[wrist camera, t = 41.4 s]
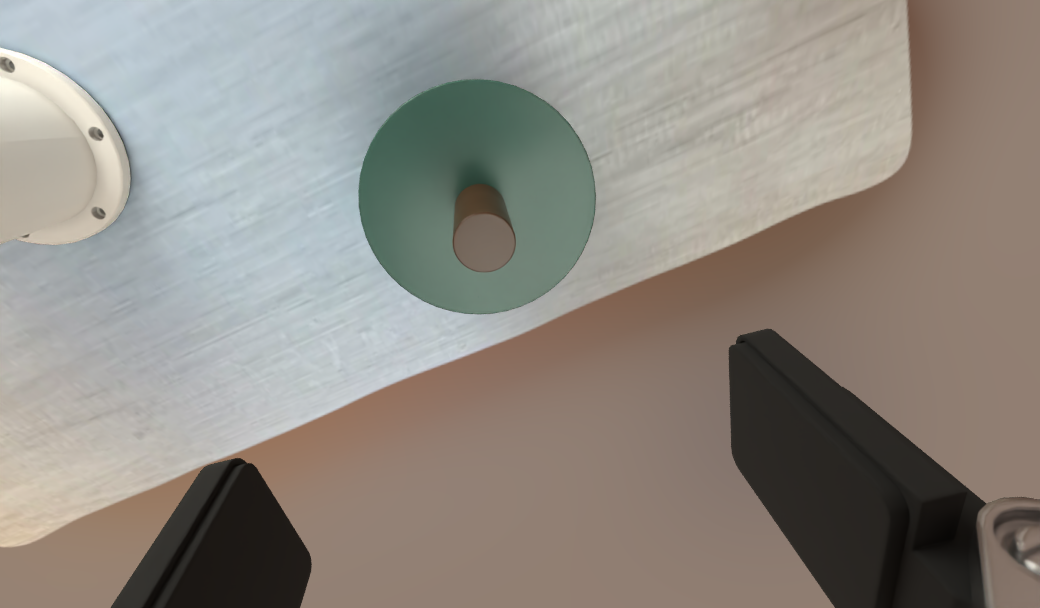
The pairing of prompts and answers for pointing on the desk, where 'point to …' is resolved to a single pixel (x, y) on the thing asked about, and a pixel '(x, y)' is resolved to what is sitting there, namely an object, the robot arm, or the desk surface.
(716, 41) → the desk surface
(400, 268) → the lid
